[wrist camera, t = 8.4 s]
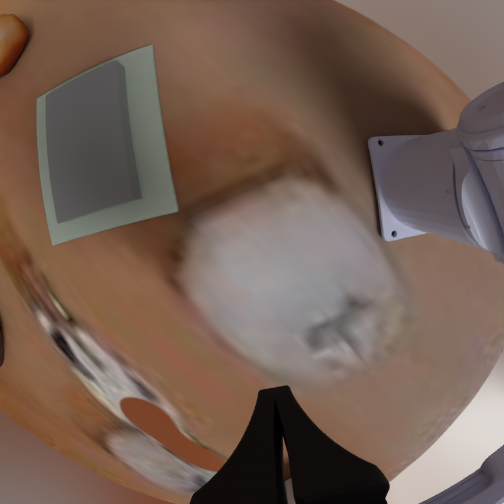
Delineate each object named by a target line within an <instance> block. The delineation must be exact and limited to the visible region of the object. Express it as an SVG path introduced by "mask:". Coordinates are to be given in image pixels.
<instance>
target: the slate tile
mask: <svg viewBox="0 0 504 504" xmlns="http://www.w3.org/2000/svg"><path fill="white" fill-rule="evenodd" d="M45 114H46V142H47V156H48V166H49V175H50V183H51V190H52V196H53V202H54V208H55V214H56V219H57V224H59V223H64V222H68V221H71V220H74V219H77V218H80V217H83V216H86V215H90V214H93V213H96V212H99V211H102V210H105V209H109V208H112V207H115V206H119V205H122V204H126V203H129V202H133V201H136V200H140V199H142V196H141V190H140V185H139V180H138V174H137V168H136V162H135V156H134V150H133V143H132V136H131V128H130V120H129V111H128V102H127V91H126V79H125V67H124V66H123V65H122V64H121V63H120V62H119V61H118V60H115V61H113V62H110V63H108V64H106V65H103V66H101V67H99V68H97V69H94V70H92V71H90V72H88V73H86V74H84V75H82V76H80V77H78V78H76V79H74V80H72V81H70V82H68V83H67V84H65V85H63V86H61V87H59V88H58V89H56V90H54V91H52V92H51V93H49V94H47V95H46V104H45Z"/></svg>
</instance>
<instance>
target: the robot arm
mask: <svg viewBox="0 0 504 504" xmlns="http://www.w3.org/2000/svg"><path fill="white" fill-rule="evenodd" d="M378 140H380V141H381V143H382V145H381V146H380V145H379V144H378ZM368 148H369V153H370V158H371V164H372V169H373V175H374V181H375V187H376V194H377V201H378V209H379V217H380V226H381V236H382V238H383V240H385V241H393V240H397V239H402V238H406V237H411V236H416V235H420V234H425V233H430V234H434V235H437V236H441V237H444V238H448V239H451V240H455V241H458V242H461V243H465V244H468V245H471V246H474V247H478V248H481V249H484V250H487V251H489V252H491V253H492V254H493V256H494V258H495V260H496V261H498V262H501V263H503V264H504V82H502V83H500V84H498V85H496V86H494V87H492V88H490V89H488V90H487V91H485V92H483V93H482V94H480V95H479V96H478V97H476V98H475V99H474V100H472V101H471V102H470V103H469V104H468V105H467V106H466V107H465V108H464V109H463V110H462V112H461V114H460V118H459V123H458V125H457V128H454V129H450V130H446V131H442V132H438V133H434V134H430V135H401V136H379V137H371V138H370V139H369V140H368ZM392 231H394V232H395V234H394V236H392V235H391V234H392ZM283 438H284V441H285V445H286V449H287V452H288V458H289V465H290V472H291V480H292V488H293V496H294V500H295V504H387V501H386V499H385V498H386V495H387V493H388V491H389V488H390V485H389V482H388V480H387V479H386V477H385V476H384V474H383V473H382V472H381V471H380V469H379V468H378V467H377V466H376V465H374V464H372V463H369V462H367V461H365V460H363V459H361V458H359V457H357V456H355V455H354V454H352V453H350V452H349V451H347V450H346V449H344V448H343V447H341V446H340V445H338V444H337V443H335V442H334V441H333V440H332V439H330V438H329V437H328V436H327V435H326V434H325V433H323V432H322V431H321V430H320V429H319V428H318V427H317V426H316V425H315V424H314V423H313V421H312V420H311V419H310V418H309V417H308V416H307V415H306V413H305V412H304V411H303V409H302V408H301V407H300V405H299V404H298V402H297V401H296V399H295V398H294V396H293V394H292V392H291V390H290V387H289V386H287V385H286V386H280V387H275V388H269V389H263V390H260V391H259V392H258V398H257V402H256V406H255V409H254V412H253V414H252V417H251V420H250V422H249V425H248V427H247V429H246V431H245V433H244V435H243V437H242V439H241V441H240V442H239V444H238V446H237V447H236V449H235V450H234V452H233V453H232V455H231V456H230V458H229V459H228V460H227V462H226V463H225V464H224V465H223V467H222V468H221V469H220V470H219V471H218V472H217V473H216V474H215V475H214V476H213V477H212V478H211V479H210V480H209V481H208V482H207V483H206V484H205V485H204V486H202V487H201V488H200V489H199V490H198V491H197V492H195V493H194V494H193V496H192V498H191V501H190V504H288V499H287V493H286V486H285V479H284V461H283ZM503 502H504V445H503V446H502V447H501V448H499V449H498V450H497V451H495V452H494V453H493V454H491V455H490V456H489V457H488V458H487V459H486V460H485V461H484V462H483V464H482V465H481V468H479V469H478V470H477V471H475V472H474V473H472V474H471V475H469V476H467V477H466V478H465V479H463V480H461V481H460V482H458V483H457V484H455V485H453V486H451V487H450V488H448V489H446V490H444V491H443V492H441V493H439V494H437V495H435V496H433V497H431V498H430V499H427V500H425V501H423V502H421V503H419V504H502V503H503Z"/></svg>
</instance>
